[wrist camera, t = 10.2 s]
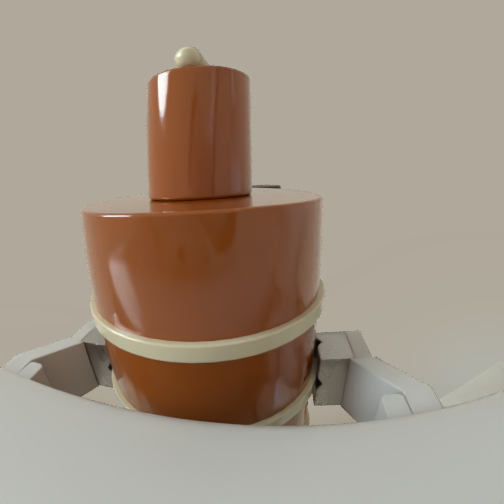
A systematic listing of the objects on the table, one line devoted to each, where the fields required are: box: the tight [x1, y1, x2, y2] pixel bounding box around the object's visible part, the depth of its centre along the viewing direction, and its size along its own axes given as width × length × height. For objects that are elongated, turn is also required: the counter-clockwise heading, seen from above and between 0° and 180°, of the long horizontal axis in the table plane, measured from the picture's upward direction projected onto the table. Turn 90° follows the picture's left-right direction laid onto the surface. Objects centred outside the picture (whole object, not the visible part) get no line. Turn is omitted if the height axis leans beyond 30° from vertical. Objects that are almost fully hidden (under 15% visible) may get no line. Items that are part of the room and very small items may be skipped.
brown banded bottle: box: [81, 46, 325, 426], centre depth 9 cm, size 6×6×16 cm
